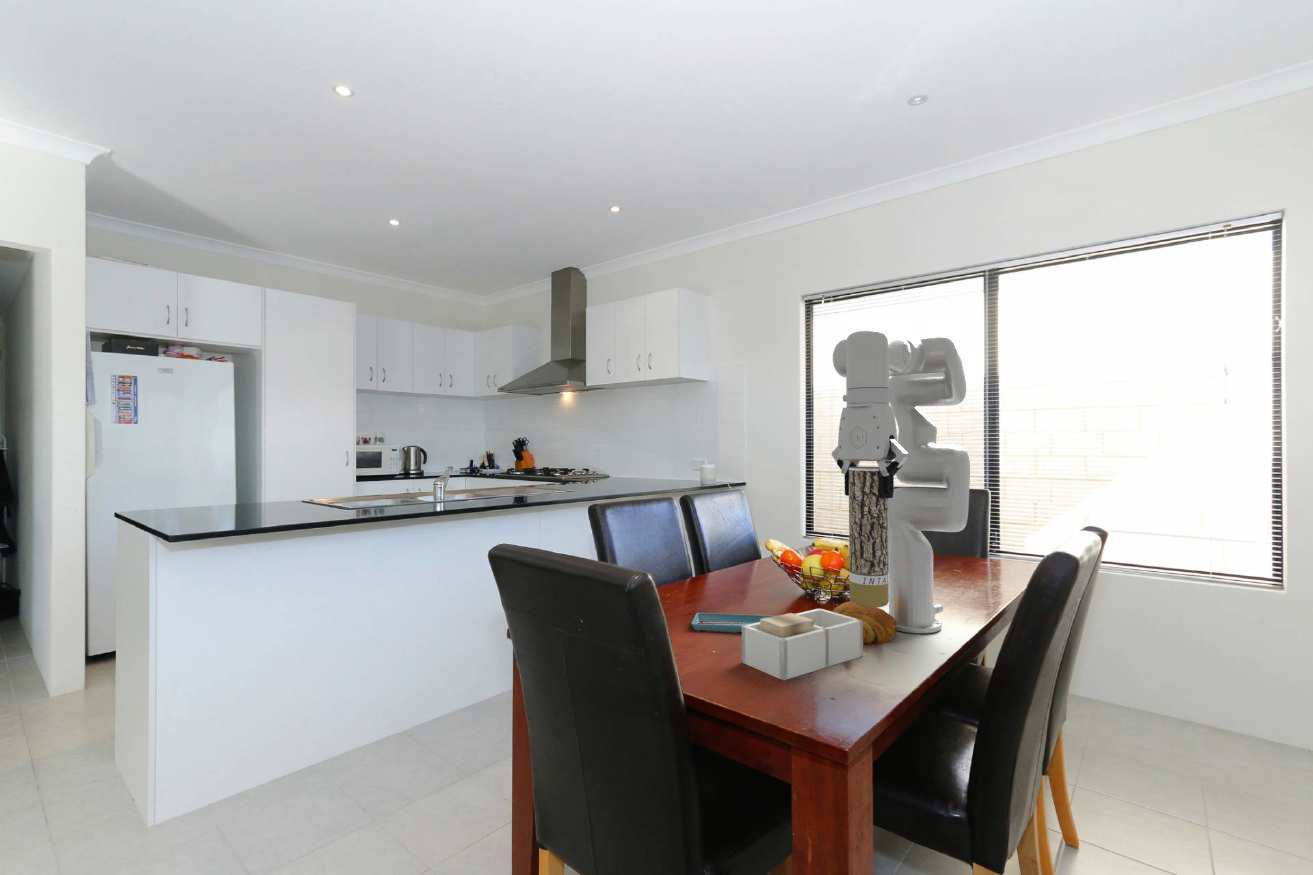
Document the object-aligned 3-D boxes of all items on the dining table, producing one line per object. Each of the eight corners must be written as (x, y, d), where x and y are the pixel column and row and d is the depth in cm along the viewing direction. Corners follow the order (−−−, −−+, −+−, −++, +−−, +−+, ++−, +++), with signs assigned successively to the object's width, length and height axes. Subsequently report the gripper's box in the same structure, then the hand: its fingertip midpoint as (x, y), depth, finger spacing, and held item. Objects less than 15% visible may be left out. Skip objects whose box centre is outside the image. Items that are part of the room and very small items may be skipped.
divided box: (819, 641, 133) (819, 608, 133) (863, 655, 124) (862, 620, 124) (741, 662, 121) (741, 625, 121) (783, 680, 112) (783, 640, 112)
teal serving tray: (690, 632, 141) (690, 621, 141) (696, 621, 150) (696, 610, 150) (810, 639, 136) (810, 628, 136) (809, 627, 145) (809, 616, 145)
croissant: (819, 649, 135) (817, 613, 134) (840, 621, 148) (837, 588, 147) (889, 659, 127) (887, 621, 126) (904, 628, 140) (902, 594, 140)
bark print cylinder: (841, 601, 116) (840, 466, 117) (869, 597, 119) (868, 466, 119) (868, 610, 110) (867, 468, 110) (897, 606, 113) (896, 467, 113)
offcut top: (791, 628, 123) (791, 612, 123) (813, 636, 118) (813, 620, 118) (760, 634, 119) (760, 619, 119) (781, 643, 114) (781, 626, 114)
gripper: (817, 401, 120) (817, 494, 120) (896, 395, 106) (897, 501, 106) (843, 402, 124) (843, 492, 124) (923, 397, 110) (923, 499, 110)
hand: (868, 495), depth 115 cm, fingers closed on bark print cylinder, 6 cm apart
